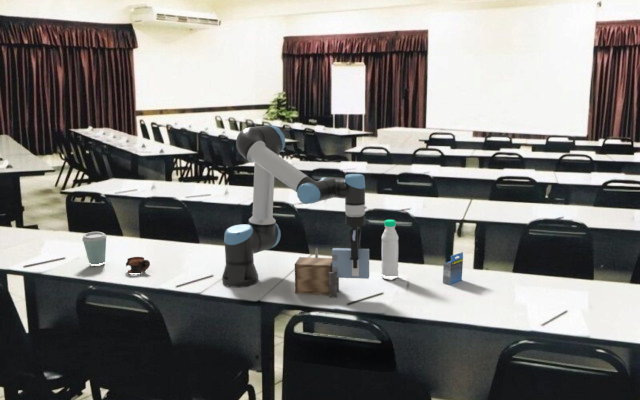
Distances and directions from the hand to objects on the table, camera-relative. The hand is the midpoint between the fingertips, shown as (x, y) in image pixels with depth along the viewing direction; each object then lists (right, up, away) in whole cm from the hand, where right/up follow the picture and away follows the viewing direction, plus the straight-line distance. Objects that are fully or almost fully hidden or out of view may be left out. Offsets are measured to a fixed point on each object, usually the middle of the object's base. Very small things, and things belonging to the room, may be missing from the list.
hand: (355, 274), depth 237 cm
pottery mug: (-95, -4, +37) cm, 102 cm away
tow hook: (-15, -4, +29) cm, 33 cm away
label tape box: (+41, -5, +17) cm, 45 cm away
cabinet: (-15, -8, +8) cm, 18 cm away
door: (-2, -1, +1) cm, 2 cm away
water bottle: (+16, -5, +23) cm, 28 cm away
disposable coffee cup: (-118, -2, +49) cm, 128 cm away
